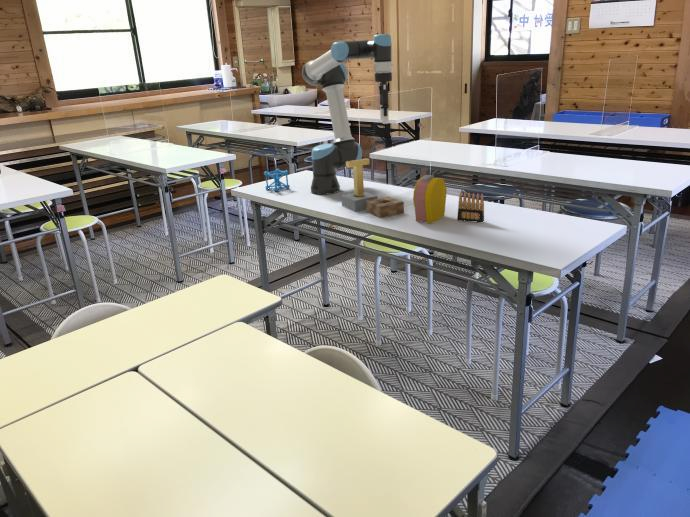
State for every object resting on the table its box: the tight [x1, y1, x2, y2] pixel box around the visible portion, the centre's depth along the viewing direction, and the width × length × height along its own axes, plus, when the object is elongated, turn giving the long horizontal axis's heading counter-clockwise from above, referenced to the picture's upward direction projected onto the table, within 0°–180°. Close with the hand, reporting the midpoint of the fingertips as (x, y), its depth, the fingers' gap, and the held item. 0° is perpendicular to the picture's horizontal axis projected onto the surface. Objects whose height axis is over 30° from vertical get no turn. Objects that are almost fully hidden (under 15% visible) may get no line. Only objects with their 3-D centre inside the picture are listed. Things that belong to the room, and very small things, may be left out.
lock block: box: [365, 196, 405, 219], centre depth 239 cm, size 12×12×5 cm
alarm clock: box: [412, 174, 447, 224], centre depth 225 cm, size 15×8×18 cm, turn 145°
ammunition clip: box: [456, 191, 485, 223], centre depth 220 cm, size 11×2×12 cm, turn 62°
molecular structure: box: [263, 168, 291, 192], centre depth 289 cm, size 10×10×10 cm
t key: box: [345, 157, 370, 198], centre depth 248 cm, size 3×11×21 cm, turn 120°
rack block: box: [341, 190, 378, 212], centre depth 251 cm, size 12×12×5 cm
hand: (384, 121), depth 245 cm, fingers open, 13 cm apart
